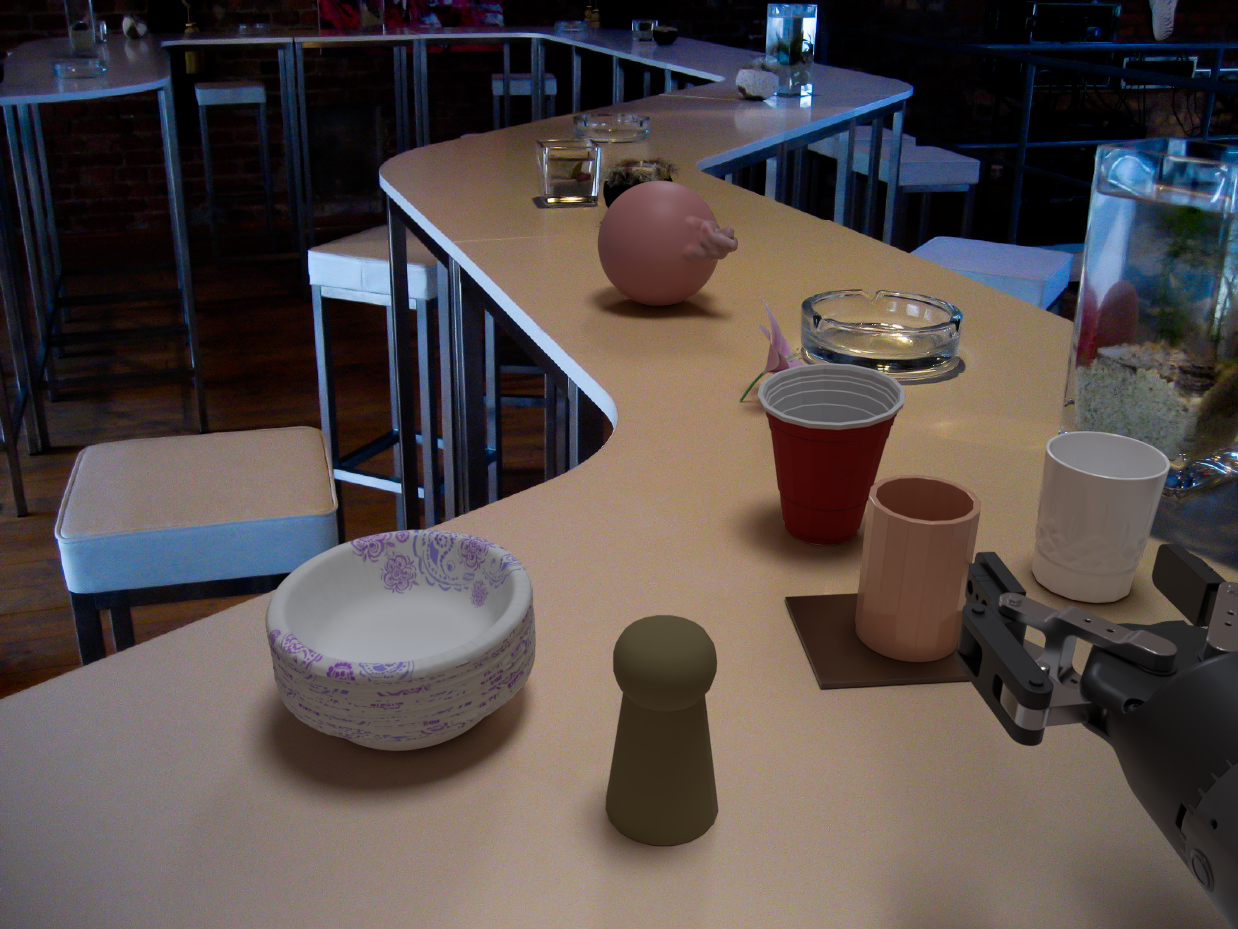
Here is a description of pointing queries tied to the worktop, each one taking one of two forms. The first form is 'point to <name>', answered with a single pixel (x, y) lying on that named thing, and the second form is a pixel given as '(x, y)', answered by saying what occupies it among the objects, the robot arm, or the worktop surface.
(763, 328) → the lily
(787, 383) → the plastic cup
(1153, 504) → the white cup
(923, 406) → the worktop surface
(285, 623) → the paper bowls
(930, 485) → the peach cup
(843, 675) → the walnut mat
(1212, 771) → the robot arm
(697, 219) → the balloon
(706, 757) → the olive peg doll
